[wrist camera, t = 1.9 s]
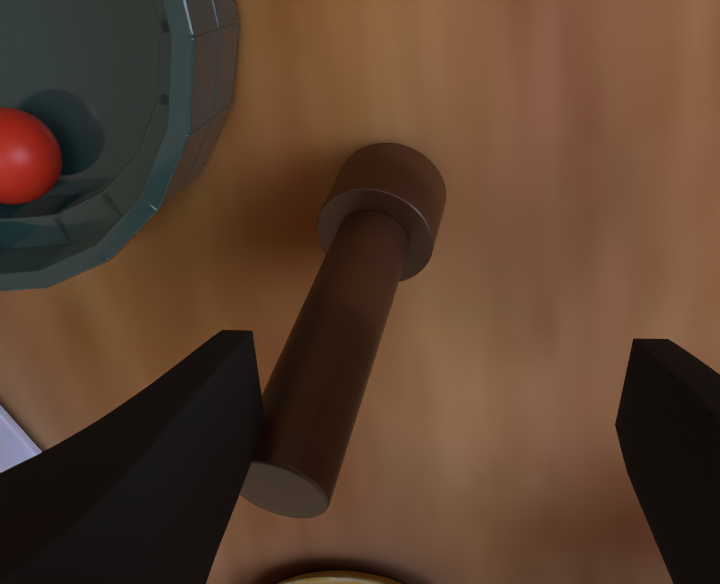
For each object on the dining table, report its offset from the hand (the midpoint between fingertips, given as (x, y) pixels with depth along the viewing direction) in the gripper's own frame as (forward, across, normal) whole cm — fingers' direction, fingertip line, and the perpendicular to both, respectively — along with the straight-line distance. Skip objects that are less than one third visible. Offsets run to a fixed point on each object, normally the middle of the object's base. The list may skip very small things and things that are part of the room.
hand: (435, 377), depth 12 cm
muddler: (+10, +1, 0) cm, 10 cm away
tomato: (+8, +13, -2) cm, 16 cm away
